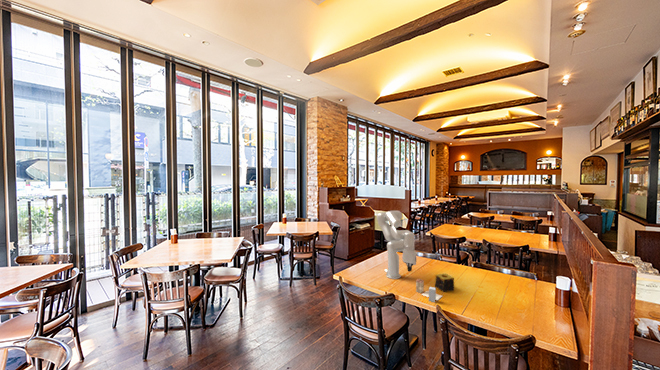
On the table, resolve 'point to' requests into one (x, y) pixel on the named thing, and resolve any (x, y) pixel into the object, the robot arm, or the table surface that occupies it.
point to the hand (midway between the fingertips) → (409, 270)
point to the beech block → (419, 285)
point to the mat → (428, 295)
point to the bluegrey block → (432, 294)
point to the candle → (444, 282)
